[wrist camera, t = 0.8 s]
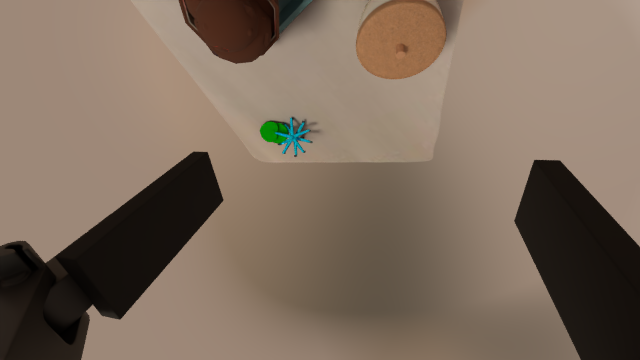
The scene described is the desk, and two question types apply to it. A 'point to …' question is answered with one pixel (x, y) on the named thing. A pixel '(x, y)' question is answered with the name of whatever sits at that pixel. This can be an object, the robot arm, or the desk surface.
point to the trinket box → (400, 37)
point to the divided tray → (290, 11)
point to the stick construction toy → (283, 134)
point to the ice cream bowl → (234, 26)
